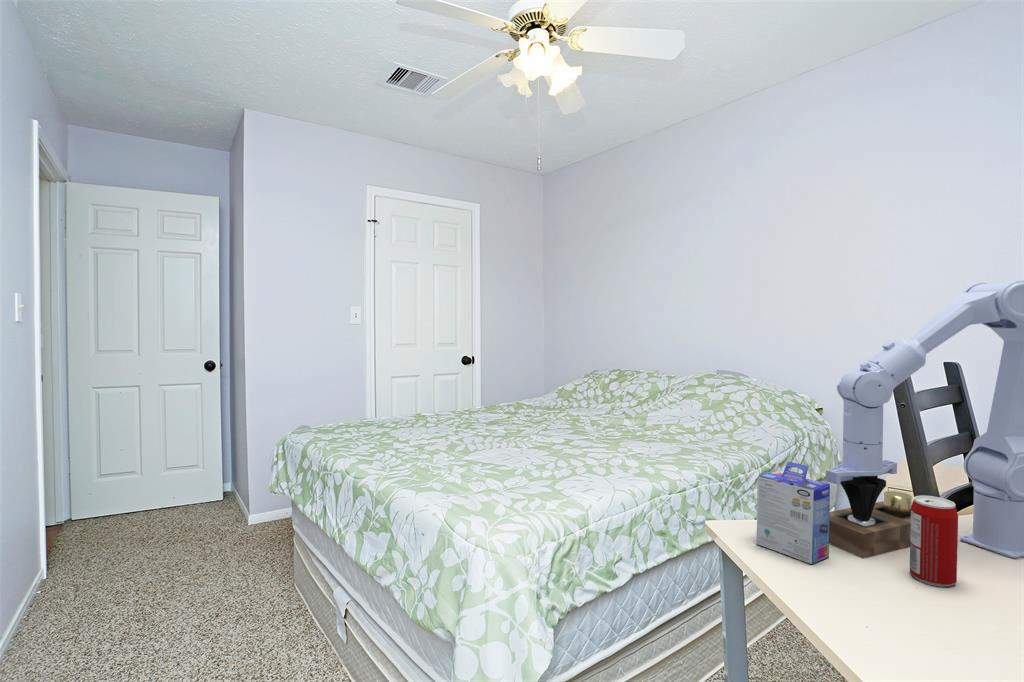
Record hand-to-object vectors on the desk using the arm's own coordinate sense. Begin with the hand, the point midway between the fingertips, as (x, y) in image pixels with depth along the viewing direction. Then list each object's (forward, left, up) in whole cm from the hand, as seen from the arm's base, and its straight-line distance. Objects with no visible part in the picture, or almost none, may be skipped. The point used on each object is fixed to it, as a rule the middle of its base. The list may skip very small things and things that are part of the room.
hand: (861, 518), depth 93 cm
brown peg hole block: (-5, 0, -4) cm, 6 cm away
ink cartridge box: (+13, -2, -4) cm, 14 cm away
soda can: (+2, +13, -4) cm, 14 cm away
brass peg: (-9, 0, -1) cm, 9 cm away
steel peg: (0, 0, -4) cm, 4 cm away
